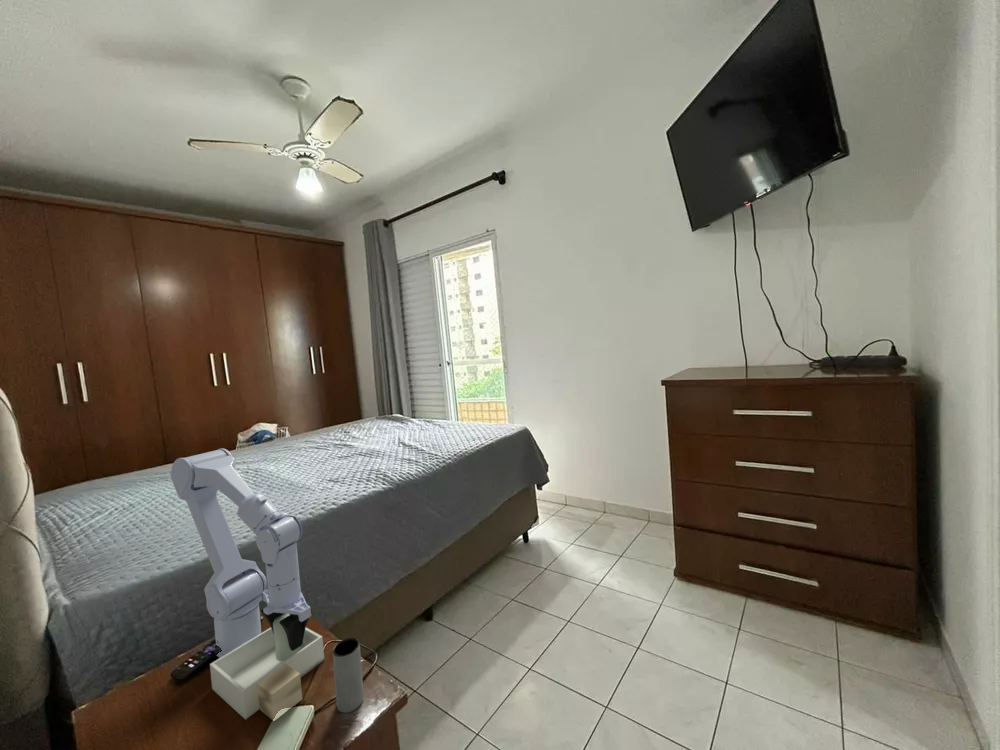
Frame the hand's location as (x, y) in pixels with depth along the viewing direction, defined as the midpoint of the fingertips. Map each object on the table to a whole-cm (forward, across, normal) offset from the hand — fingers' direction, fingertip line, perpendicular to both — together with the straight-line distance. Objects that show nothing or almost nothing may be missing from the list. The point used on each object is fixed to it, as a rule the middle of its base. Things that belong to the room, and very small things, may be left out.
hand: (289, 642), depth 79 cm
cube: (+4, +8, -6) cm, 11 cm away
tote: (+4, -1, -4) cm, 6 cm away
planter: (+5, +19, 0) cm, 20 cm away
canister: (+2, 0, 0) cm, 2 cm away
